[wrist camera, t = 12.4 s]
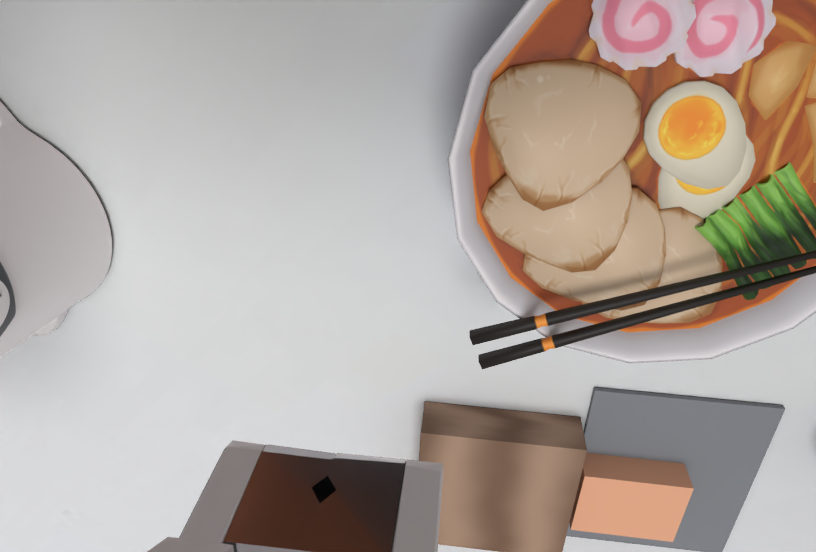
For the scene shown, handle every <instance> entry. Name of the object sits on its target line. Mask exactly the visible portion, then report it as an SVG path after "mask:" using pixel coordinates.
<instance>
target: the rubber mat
mask: <svg viewBox="0 0 816 552" xmlns="http://www.w3.org/2000/svg"><path fill="white" fill-rule="evenodd" d="M784 410H785V408H784V406H783V405H774V404H764V403H754V402H743V401H733V400H723V399H712V398H702V397H691V396H681V395H671V394H660V393H650V392H640V391H629V390H619V389H609V388H598V387H594V390H593V394H592V399H591V403H590V407H589V411H588V416H587V420H586V424H585V428H584V437H585V442H586V447H587V453H594V454H603V455H612V456H621V457H630V458H639V459H648V460H657V461H666V462H675V463H684V464H685V467H686V470H687V472H688V475H689V477H690V480H691V483H692V485H693V488H694V490H693V492H692V495H691V497H690V500H689V502H688V505H687V507H686V510H685V513H684V515H683V518H682V520H681V523H680V525H679V528H678V530H677V533H676V536H675V538H674V541H673V542H668V541H660V540H652V539H643V538H635V537H627V536H619V535H610V534H602V533H594V532H585V531H577V530H571V529H570V522H569V526H568V530H567V534H566V536H571V537H580V538H589V539H598V540H606V541H615V542H624V543H632V544H641V545H650V546H659V547H667V548H676V549H685V550H694V551H702V552H722V551H723V549H724V547H725V545H726V542H727V540H728V538H729V535H730V533H731V531H732V529H733V526H734V524H735V522H736V520H737V517H738V515H739V513H740V510H741V508H742V506H743V504H744V501H745V499H746V497H747V495H748V492H749V490H750V488H751V485H752V483H753V481H754V479H755V476H756V474H757V472H758V470H759V467H760V465H761V463H762V460H763V458H764V456H765V454H766V451H767V449H768V447H769V445H770V442H771V440H772V438H773V435H774V433H775V431H776V429H777V426H778V424H779V422H780V420H781V417H782V415H783V413H784Z"/></svg>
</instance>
